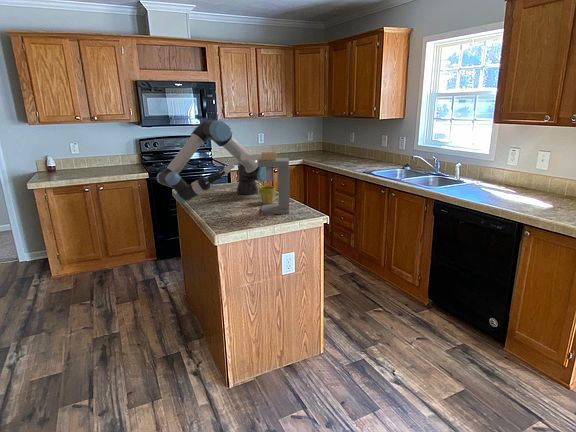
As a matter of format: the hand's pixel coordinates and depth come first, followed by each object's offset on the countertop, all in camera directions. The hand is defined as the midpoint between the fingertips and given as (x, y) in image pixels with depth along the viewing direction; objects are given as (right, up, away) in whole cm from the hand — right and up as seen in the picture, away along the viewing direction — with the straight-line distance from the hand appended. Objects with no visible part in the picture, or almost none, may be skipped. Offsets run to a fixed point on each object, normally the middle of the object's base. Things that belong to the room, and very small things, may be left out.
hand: (232, 166), depth 213 cm
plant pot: (+19, -20, +26) cm, 37 cm away
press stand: (+24, -25, +7) cm, 35 cm away
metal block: (+14, +4, -1) cm, 15 cm away
